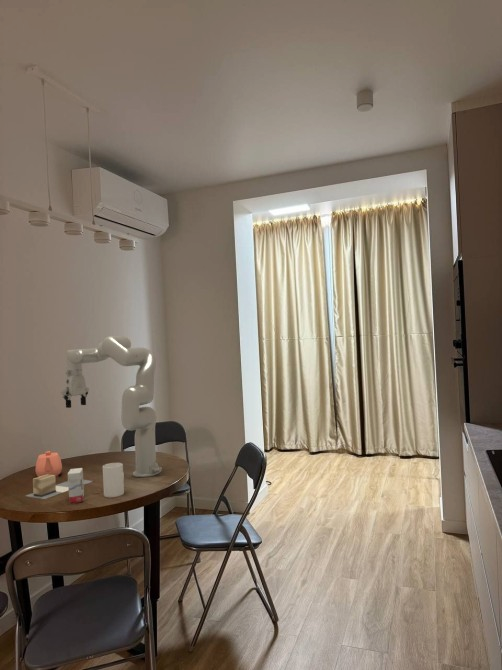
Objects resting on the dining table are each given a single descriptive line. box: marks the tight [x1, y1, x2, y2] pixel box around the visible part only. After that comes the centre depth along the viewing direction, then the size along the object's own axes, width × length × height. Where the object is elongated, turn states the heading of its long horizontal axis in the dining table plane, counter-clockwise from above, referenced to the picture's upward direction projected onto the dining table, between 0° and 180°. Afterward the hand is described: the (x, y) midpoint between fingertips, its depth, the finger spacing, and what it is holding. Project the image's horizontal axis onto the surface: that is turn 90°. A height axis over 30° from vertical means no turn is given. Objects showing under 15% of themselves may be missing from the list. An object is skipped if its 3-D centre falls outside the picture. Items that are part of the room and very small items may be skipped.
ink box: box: [67, 467, 85, 505], centre depth 191 cm, size 9×5×12 cm, turn 13°
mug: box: [102, 462, 125, 498], centre depth 198 cm, size 8×12×12 cm
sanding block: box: [32, 474, 57, 497], centre depth 198 cm, size 5×7×7 cm
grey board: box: [25, 479, 94, 500], centre depth 205 cm, size 12×26×1 cm, turn 152°
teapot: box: [35, 450, 63, 478], centre depth 229 cm, size 20×12×12 cm, turn 22°
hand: (76, 406), depth 247 cm, fingers open, 9 cm apart
